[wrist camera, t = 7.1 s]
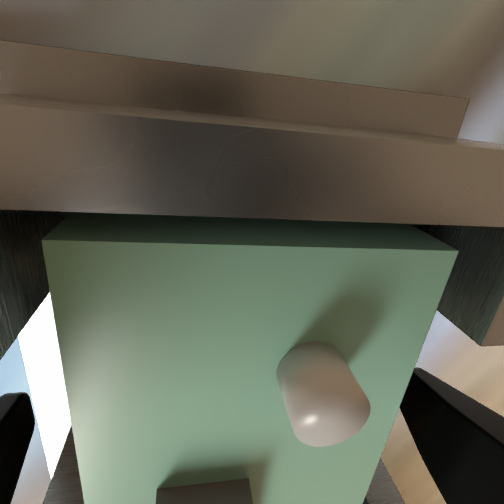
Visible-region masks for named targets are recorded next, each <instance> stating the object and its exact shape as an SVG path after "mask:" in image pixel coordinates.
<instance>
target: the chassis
mask: <svg viewBox="0 0 504 504" xmlns="http://www.w3.org/2000/svg"><path fill="white" fill-rule="evenodd" d="M468 102H469V99H466V98H458V97H450V96H442V95H434V94H426V93H418V92H410V91H402V90H394V89H386V88H378V87H370V86H362V85H354V84H346V83H338V82H330V81H322V80H314V79H306V78H298V77H290V76H282V75H273V74H265V73H257V72H249V71H241V70H233V69H225V68H217V67H209V66H201V65H193V64H185V63H177V62H169V61H161V60H153V59H145V58H137V57H129V56H121V55H113V54H105V53H97V52H89V51H81V50H73V49H65V48H57V47H49V46H41V45H33V44H25V43H17V42H9V41H1V40H0V360H1V358H2V357H3V355H4V354H5V353H6V351H7V350H8V349H9V347H10V346H11V344H12V343H13V342H14V340H15V339H16V338H17V336H18V338H19V343H20V347H21V351H22V356H23V360H24V364H25V369H26V373H27V377H28V382H29V386H30V390H31V395H32V399H33V403H34V408H35V412H36V416H37V421H38V425H39V429H40V433H41V438H42V442H43V446H44V451H45V455H46V459H47V464H48V468H49V472H50V477H51V482H50V485H49V488H48V490H47V493H46V496H45V499H44V501H43V504H84V498H83V492H82V486H81V480H80V474H79V468H78V462H77V455H76V449H75V443H74V437H73V431H72V425H71V419H70V412H69V406H68V400H67V394H66V388H65V382H64V376H63V369H62V363H61V357H60V351H59V345H58V339H57V333H56V327H55V320H54V314H53V308H52V302H51V296H50V290H49V284H48V277H47V271H46V265H45V259H44V253H43V247H42V241H41V240H42V239H43V238H44V237H45V236H46V235H47V234H48V233H49V232H51V231H52V230H53V229H54V228H55V227H56V226H57V225H58V224H59V223H60V222H61V221H62V220H63V219H64V218H65V217H67V216H68V215H69V214H70V213H71V212H88V213H117V214H145V215H173V216H202V217H230V218H258V219H286V220H315V221H343V222H371V223H400V224H410V225H412V226H414V227H416V228H418V229H420V230H421V231H423V232H425V233H427V234H429V235H431V236H432V237H434V238H436V239H438V240H440V241H442V242H443V243H445V244H447V245H449V246H451V247H452V248H454V249H456V250H458V251H459V252H458V254H457V257H456V260H455V262H454V265H453V268H452V270H451V273H450V275H449V278H448V281H447V283H446V286H445V289H444V291H443V294H442V296H441V299H440V302H439V304H438V307H437V311H439V312H440V313H441V314H442V315H443V316H445V317H446V318H447V319H448V320H450V321H451V322H452V323H453V324H454V325H456V326H457V327H458V328H459V329H460V330H462V331H463V332H464V333H465V334H466V335H468V336H469V337H470V338H471V339H472V340H474V341H475V342H476V343H477V344H478V345H480V346H500V345H504V145H502V144H495V143H487V142H480V141H472V140H464V139H457V136H458V133H459V130H460V127H461V124H462V121H463V118H464V114H465V111H466V108H467V105H468ZM363 504H405V502H404V500H403V499H402V497H401V495H400V493H399V491H398V489H397V487H396V486H395V484H394V482H393V480H392V478H391V476H390V475H389V473H388V471H387V469H386V467H385V465H384V463H383V462H382V460H381V458H380V459H379V462H378V465H377V467H376V470H375V472H374V475H373V478H372V480H371V483H370V486H369V488H368V491H367V493H366V496H365V499H364V501H363Z"/></svg>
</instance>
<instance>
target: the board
mask: <svg viewBox="0 0 504 504" xmlns="http://www.w3.org/2000/svg"><path fill="white" fill-rule="evenodd" d="M41 241H42V247H43V253H44V259H45V265H46V271H47V277H48V284H49V290H50V296H51V302H52V308H53V314H54V320H55V327H56V333H57V339H58V345H59V351H60V357H61V363H62V369H63V376H64V382H65V388H66V394H67V400H68V406H69V412H70V419H71V425H72V431H73V437H74V443H75V449H76V455H77V462H78V468H79V474H80V480H81V486H82V492H83V498H84V504H363V501H364V499H365V496H366V493H367V491H368V488H369V486H370V483H371V480H372V478H373V475H374V472H375V470H376V467H377V465H378V462H379V459H380V457H381V454H382V451H383V449H384V446H385V444H386V441H387V438H388V436H389V433H390V430H391V428H392V425H393V423H394V420H395V417H396V415H397V412H398V409H399V407H400V404H401V402H402V399H403V396H404V394H405V391H406V388H407V386H408V383H409V381H410V378H411V375H412V373H413V370H414V367H415V365H416V362H417V359H418V357H419V354H420V352H421V349H422V346H423V344H424V341H425V338H426V336H427V333H428V331H429V328H430V325H431V323H432V320H433V317H434V315H435V312H436V310H437V307H438V304H439V302H440V299H441V296H442V294H443V291H444V289H445V286H446V283H447V281H448V278H449V275H450V273H451V270H452V268H453V265H454V262H455V260H456V257H457V254H458V252H459V251H458V250H456V249H454V248H452V247H451V246H449V245H447V244H445V243H443V242H442V241H440V240H438V239H436V238H434V237H432V236H431V235H429V234H427V233H425V232H423V231H421V230H420V229H418V228H416V227H414V226H412V225H410V224H400V223H371V222H343V221H315V220H286V219H258V218H230V217H202V216H173V215H145V214H117V213H88V212H71V213H70V214H69V215H68V216H67V217H65V218H64V219H63V220H62V221H61V222H60V223H59V224H58V225H57V226H56V227H55V228H54V229H53V230H52V231H51V232H49V233H48V234H47V235H46V236H45V237H44V238H43V239H42V240H41Z"/></svg>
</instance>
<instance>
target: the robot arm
mask: <svg viewBox="0 0 504 504" xmlns="http://www.w3.org/2000/svg"><path fill="white" fill-rule="evenodd" d="M400 409H401V412H402V414H403V416H404V419H405V421H406V423H407V425H408V428H409V430H410V432H411V435H412V437H413V439H414V441H415V444H416V446H417V448H418V450H419V453H420V455H421V457H422V459H423V461H424V463H425V465H426V467H427V469H428V470H429V472H430V474H431V476H432V478H433V480H434V481H435V483H436V485H437V487H438V489H439V491H440V493H441V494H442V496H443V498H444V500H445V502H446V504H504V417H503V416H501V415H499V414H498V413H496V412H494V411H492V410H491V409H489V408H487V407H486V406H484V405H482V404H481V403H479V402H477V401H476V400H474V399H472V398H470V397H469V396H467V395H465V394H464V393H462V392H460V391H459V390H457V389H455V388H454V387H452V386H450V385H448V384H447V383H445V382H443V381H442V380H440V379H438V378H437V377H435V376H433V375H432V374H430V373H428V372H426V371H425V370H423V369H421V368H414V370H413V373H412V375H411V378H410V381H409V383H408V386H407V388H406V391H405V394H404V396H403V399H402V402H401V404H400ZM34 426H35V418H34V414H33V410H32V405H31V401H30V397H29V395H28V394H27V393H25V392H19V393H7V394H4V395H2V396H1V397H0V504H11V501H12V498H13V495H14V492H15V488H16V485H17V482H18V479H19V476H20V472H21V469H22V466H23V463H24V460H25V456H26V453H27V450H28V447H29V444H30V441H31V437H32V434H33V431H34Z"/></svg>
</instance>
